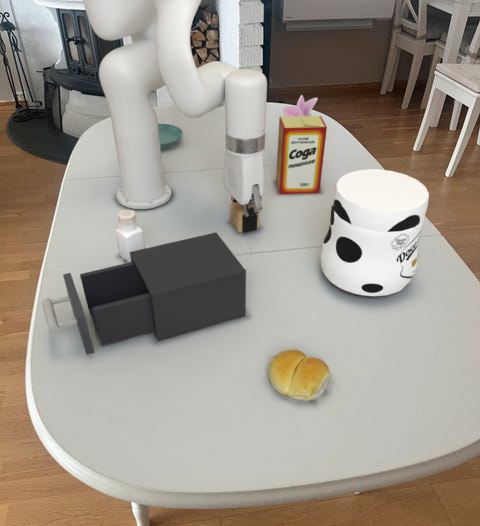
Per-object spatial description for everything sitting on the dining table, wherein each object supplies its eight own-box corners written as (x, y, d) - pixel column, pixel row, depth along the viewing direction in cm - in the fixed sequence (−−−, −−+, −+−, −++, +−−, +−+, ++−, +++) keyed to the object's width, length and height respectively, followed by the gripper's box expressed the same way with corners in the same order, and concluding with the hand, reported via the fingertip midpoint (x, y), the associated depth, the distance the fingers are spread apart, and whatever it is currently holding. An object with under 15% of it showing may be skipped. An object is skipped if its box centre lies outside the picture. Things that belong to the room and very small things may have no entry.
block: (230, 222, 112) (230, 203, 109) (249, 218, 114) (249, 199, 111) (238, 232, 109) (239, 213, 106) (258, 228, 111) (259, 209, 108)
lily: (281, 126, 157) (272, 101, 149) (318, 109, 154) (311, 84, 146) (292, 153, 151) (283, 129, 143) (330, 136, 149) (324, 111, 140)
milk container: (427, 300, 92) (455, 210, 80) (333, 310, 90) (348, 219, 78) (390, 247, 105) (410, 163, 93) (307, 255, 103) (316, 169, 91)
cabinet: (157, 341, 84) (151, 295, 78) (136, 297, 93) (129, 251, 86) (245, 316, 89) (246, 270, 83) (217, 276, 98) (216, 232, 91)
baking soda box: (279, 194, 122) (283, 126, 112) (276, 181, 127) (279, 115, 117) (319, 192, 123) (327, 125, 112) (314, 180, 128) (321, 114, 117)
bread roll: (284, 353, 82) (285, 334, 80) (335, 375, 79) (339, 357, 76) (256, 385, 77) (257, 367, 74) (310, 411, 73) (313, 393, 71)
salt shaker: (135, 248, 104) (129, 206, 98) (147, 256, 102) (141, 213, 96) (118, 256, 102) (111, 213, 96) (130, 264, 100) (123, 221, 94)
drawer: (58, 362, 79) (46, 324, 74) (47, 318, 87) (35, 280, 82) (175, 329, 85) (171, 292, 80) (155, 290, 93) (150, 253, 88)
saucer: (118, 145, 143) (117, 135, 141) (154, 128, 152) (153, 119, 150) (159, 158, 137) (158, 148, 135) (194, 140, 146) (193, 130, 144)
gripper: (210, 128, 104) (213, 210, 116) (245, 162, 92) (244, 248, 104) (244, 123, 106) (243, 203, 118) (283, 155, 95) (278, 240, 107)
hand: (244, 223), depth 111 cm, fingers closed on block, 4 cm apart
